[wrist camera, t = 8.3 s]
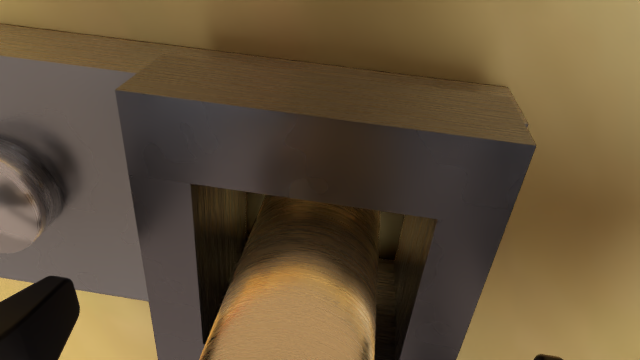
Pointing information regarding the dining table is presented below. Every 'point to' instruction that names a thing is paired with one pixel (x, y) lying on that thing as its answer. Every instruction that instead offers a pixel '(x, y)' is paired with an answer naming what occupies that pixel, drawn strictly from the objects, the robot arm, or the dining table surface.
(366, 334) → the pin
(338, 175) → the chain ends
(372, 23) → the dining table surface
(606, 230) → the dining table surface
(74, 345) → the dining table surface
